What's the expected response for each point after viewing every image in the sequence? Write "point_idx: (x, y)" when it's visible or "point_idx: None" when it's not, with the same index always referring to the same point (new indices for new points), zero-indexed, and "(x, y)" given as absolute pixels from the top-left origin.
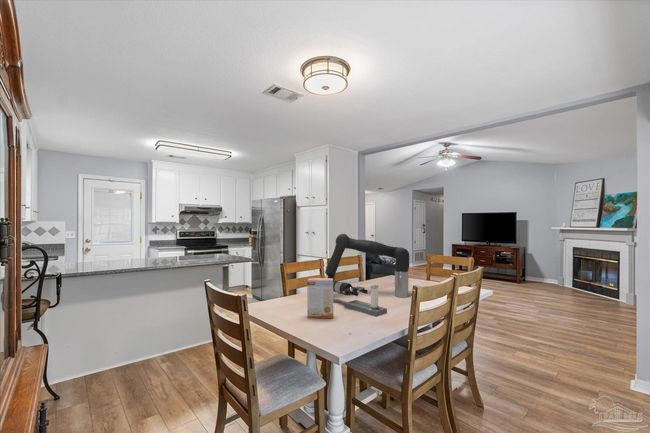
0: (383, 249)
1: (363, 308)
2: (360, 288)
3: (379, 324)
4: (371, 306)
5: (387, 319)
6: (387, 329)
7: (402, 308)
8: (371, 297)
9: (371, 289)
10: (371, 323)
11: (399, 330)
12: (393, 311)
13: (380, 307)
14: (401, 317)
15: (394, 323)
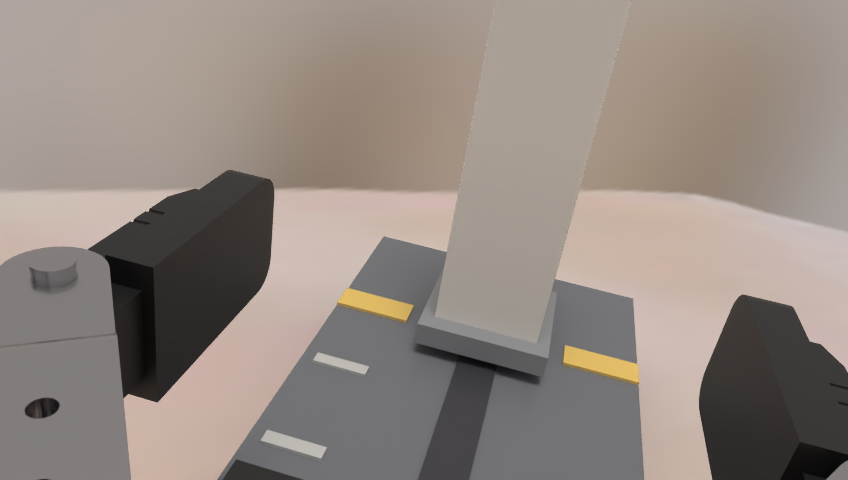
0: None
1: (641, 462)
2: (58, 326)
3: (781, 292)
4: (537, 334)
5: (594, 264)
6: (802, 245)
7: (95, 203)
8: (579, 181)
9: (626, 10)
10: (843, 343)
11: (732, 202)
12: (275, 250)
13: (390, 286)
14: (441, 202)
15: (637, 225)
